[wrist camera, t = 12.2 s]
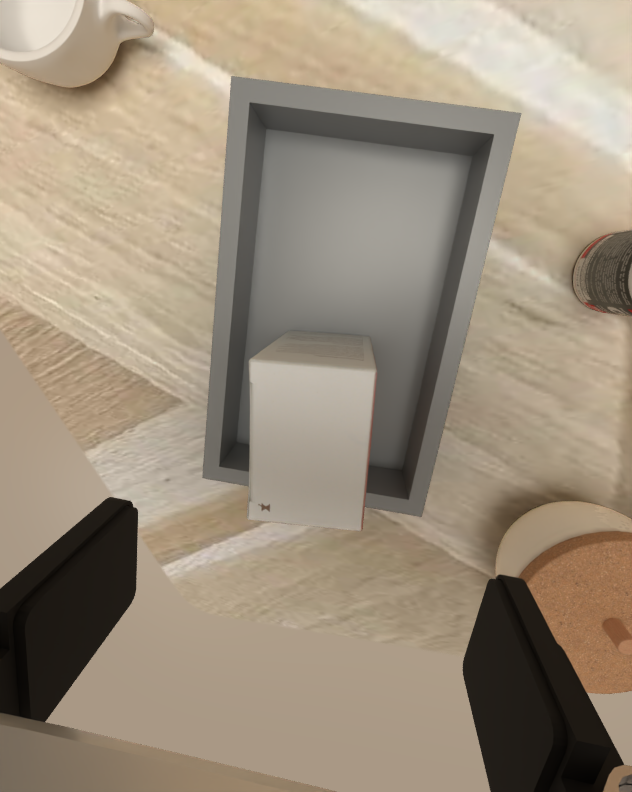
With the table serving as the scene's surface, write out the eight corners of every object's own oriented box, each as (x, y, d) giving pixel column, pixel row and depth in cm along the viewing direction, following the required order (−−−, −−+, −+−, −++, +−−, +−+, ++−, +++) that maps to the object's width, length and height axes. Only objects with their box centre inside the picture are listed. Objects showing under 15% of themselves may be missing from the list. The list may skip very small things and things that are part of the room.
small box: (361, 448, 30) (363, 537, 20) (282, 440, 30) (244, 524, 20) (372, 333, 27) (380, 368, 17) (287, 327, 28) (246, 358, 18)
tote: (489, 144, 25) (521, 113, 20) (411, 479, 31) (421, 517, 26) (255, 113, 25) (231, 76, 21) (225, 447, 32) (202, 478, 27)
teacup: (14, 88, 26) (-70, 43, 21) (17, -66, 24) (-75, -158, 19) (168, 126, 26) (121, 90, 21) (186, -25, 24) (138, -107, 19)
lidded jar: (497, 463, 30) (556, 544, 21) (651, 488, 30) (779, 582, 21) (461, 586, 33) (499, 702, 24) (600, 611, 33) (692, 739, 24)
